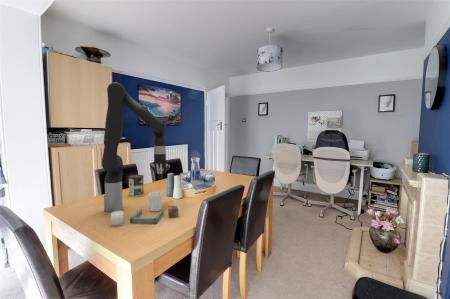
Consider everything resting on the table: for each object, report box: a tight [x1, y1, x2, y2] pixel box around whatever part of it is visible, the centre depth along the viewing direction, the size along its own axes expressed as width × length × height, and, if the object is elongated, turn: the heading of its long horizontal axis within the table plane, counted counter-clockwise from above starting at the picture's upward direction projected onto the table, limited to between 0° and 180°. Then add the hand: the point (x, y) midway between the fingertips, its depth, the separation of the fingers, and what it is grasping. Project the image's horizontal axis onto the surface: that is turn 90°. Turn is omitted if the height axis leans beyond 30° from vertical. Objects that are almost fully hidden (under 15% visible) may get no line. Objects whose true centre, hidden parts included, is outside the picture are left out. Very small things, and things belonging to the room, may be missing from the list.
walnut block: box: [167, 205, 179, 219], centre depth 126 cm, size 5×5×5 cm
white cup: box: [148, 191, 163, 212], centre depth 135 cm, size 8×8×10 cm
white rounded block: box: [110, 210, 125, 227], centre depth 114 cm, size 6×6×6 cm
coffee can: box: [128, 174, 145, 198], centre depth 164 cm, size 10×10×14 cm
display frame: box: [129, 209, 165, 225], centre depth 122 cm, size 14×12×2 cm
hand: (160, 179), depth 144 cm, fingers closed
